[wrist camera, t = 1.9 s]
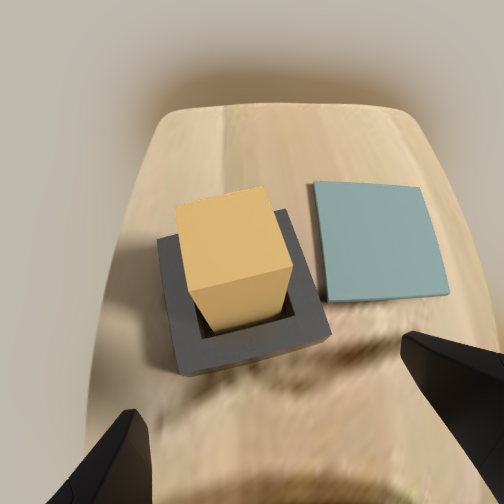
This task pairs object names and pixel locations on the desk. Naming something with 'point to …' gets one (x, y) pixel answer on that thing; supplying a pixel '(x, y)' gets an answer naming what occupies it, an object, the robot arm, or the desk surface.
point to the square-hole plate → (248, 340)
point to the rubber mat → (377, 243)
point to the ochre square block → (234, 258)
